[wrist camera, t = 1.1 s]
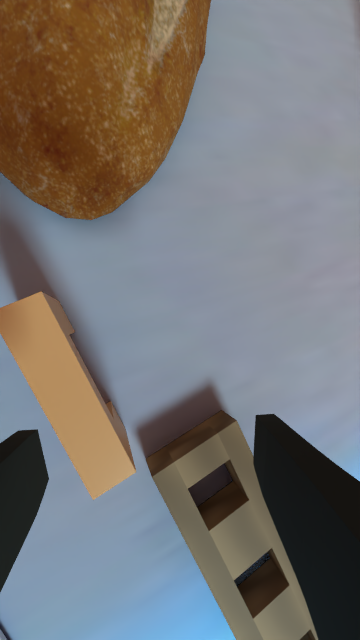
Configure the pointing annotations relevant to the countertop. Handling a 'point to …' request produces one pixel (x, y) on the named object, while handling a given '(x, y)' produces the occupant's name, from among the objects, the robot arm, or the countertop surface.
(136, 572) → the countertop surface
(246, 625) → the wooden board with holes
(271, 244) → the countertop surface
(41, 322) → the tan rectangular block
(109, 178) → the bread
